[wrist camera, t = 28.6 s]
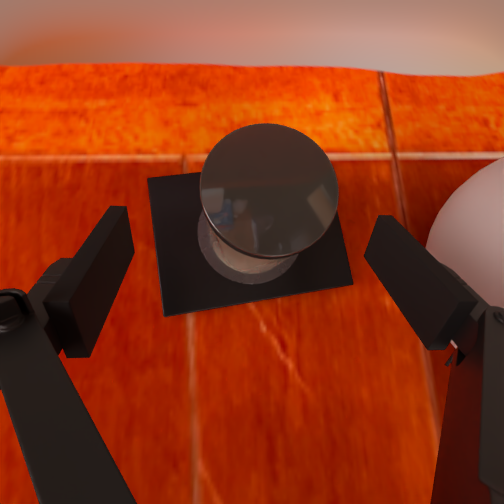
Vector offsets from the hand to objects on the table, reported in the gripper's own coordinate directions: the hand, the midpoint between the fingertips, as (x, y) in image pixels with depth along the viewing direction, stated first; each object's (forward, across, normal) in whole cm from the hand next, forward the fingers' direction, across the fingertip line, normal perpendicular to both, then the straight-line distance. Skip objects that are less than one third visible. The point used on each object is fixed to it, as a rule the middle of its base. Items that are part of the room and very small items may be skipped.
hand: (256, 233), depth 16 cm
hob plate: (+8, +1, -5) cm, 9 cm away
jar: (+7, +1, -4) cm, 8 cm away
